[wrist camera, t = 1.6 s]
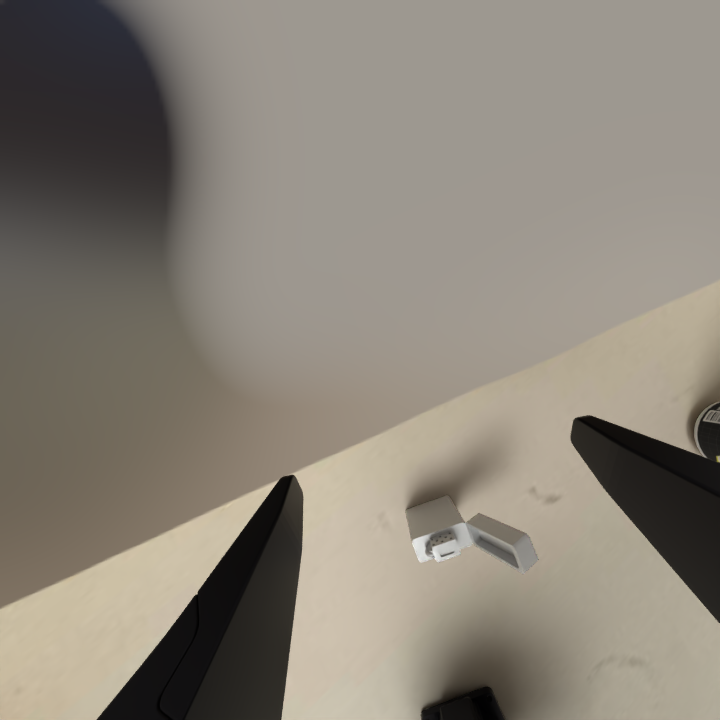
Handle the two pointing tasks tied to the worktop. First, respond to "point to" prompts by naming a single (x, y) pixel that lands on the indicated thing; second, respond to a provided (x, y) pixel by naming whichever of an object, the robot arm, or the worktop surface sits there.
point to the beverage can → (709, 432)
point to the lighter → (465, 535)
